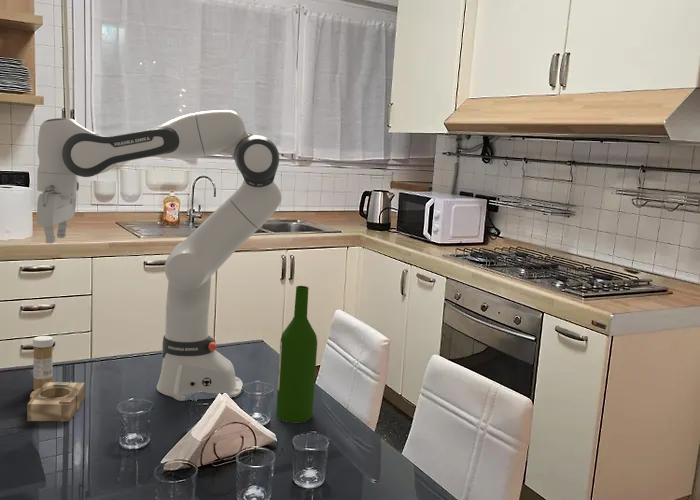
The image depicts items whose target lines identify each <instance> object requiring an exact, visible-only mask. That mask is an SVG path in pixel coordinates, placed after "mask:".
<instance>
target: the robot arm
mask: <svg viewBox="0 0 700 500" xmlns="http://www.w3.org/2000/svg"><path fill="white" fill-rule="evenodd" d="M244 123H245V122H244V121H243V119H242V117H241V116H240V115H239V114H238V113H237V112H236V111H234V110H230V109H216V110H215V109H214V110H205V111H198V112H192V113H188V114H183V115H181V116H178V117H175V118H172V119H170V120H166V121H165V122H163V123H160V124H158V125H156V126H153V127H151V128H148V129H144V130H141V131H135V132H128V133H123V134H117V135H111V136H110V135H109V136H105V135H101V134H99V133H96V132H93V131H91V130H89V129H87V128H86V127H84V126H83V125H81V124H80V123H78V122H77V121H76V120H75V119H74V118H73V119H72V118H71V117H69V118H68V117H64V118H62V117H59V118H50V119H47V120H45V121H43V122H42V123H41V125H40V126H39V130H38V131H39V132H38V137H37V156H38V160H39V161H38V162H39V163H38V167H37V170H36V171H37V173H36V174H37V177H36V182H37V183H36V190H37V192H42V193H40V194H39V195H38V197H37V205H36V224H37V226H38V227H39V226H40V227H43V231H44V235H45V243H46V244H54V243H56V237H57V238H58V239H64V238H66V236H67V228H68V224H69V220H71V219H73V218H74V216H75V213H76V207H77V205H76V204H77V192H78V191H79V189H80V183H79V181H78V179H77V177H81V178H91V177H94V176H96V175H98V174H99V175H100V174H104V173H106V172H109V171H110V170H112V169H113V168H114V167H115V165H116V164H119V163H124V162H130V161H135V160H140V159H146V158H155V157H156V158H160V157H161V158H168V159H197V158H204V157H209V156H214V155H219V154H220V155H221V154H225V155H228V156H230V157H232V159H233V160H234V163H235V166H236V168H237V169H238V171H239V172H240V174H241V176H242V177H243V182H242V183H241V185H240V187H239V188H238V189H237V190H236V191H235V192H234V193H232V195H230V197H228V198H227V199H226V200H225V201H224V202H223V203H222V204H220V206H218V207H217V209H216V210H214V211H213V212H212V213H211V214H210V215H209V216H208V217H206V219H205V220H203V222H202V223H201V224H200V225H199V226H198V227H197V228H196V229H195V230H194V231H193V232H192V233H190V235H188V237H187V238H186V239H184V240H183V241H181V242H179V243H178V244H177V245H175V246H174V247H173V249H172V251H170V253H169V255H168V256H167V258H166V260H165V263H164V274H165V276H166V279H167V282H168V283H167V293H166V304H165V318H164V319H165V322H164V335H163V337H162V344H161V354H162V364H161V371H160V375H159V379H158V383H157V385H156V390H157V392H158V393H161V394H163V395H165V396H168V397H171V398H173V399H174V400H175V401H176V400H177V401H181V402H182V401H185V398H186V396H187V395H188V394H191V393H195V392H198V391H204V392H207V393H216V394H219V393H227V394H228V395H229V396H230V397H231V398H230V399H232V397H235V396H237V395H239V394H240V393H241V389H242V386H243V387H244V383H243V380H241V378H239V377H237V376H236V372H235V367H234V365H233V363H232V362H231V360H229V359H228V358H226V357H225V356H224V355H222V354H221V353H220V352H219V351H217V350H216V349H217V343H216V339H215V337H214V336H210V335H209V316H210V302H211V301H210V300H211V299H210V298H211V283H212V282H211V280H212V276H213V275H214V274H215V273H216V272H217V271H218V270H219V269H220V268H221V267H222V266H223V265H224V264H225V262H226V261H227V260H228V259H229V258H231V256H232V255H233V254H234V253H235V252H236V251H237V250H238V249H239V248H240V247H241V246H242V245H243V244H244V243H245V242H246V241H248V240H249V238H251V237H252V236H253V235H254V234H255V233H256V232H258V230H259V229H260V228H261V227H263V225H264V224H265V223H266V222H267V221H268V220H269V218H271V217H272V216H273V214H274V213H275V212H276V211H277V209H278V207H279V206H280V205H281V203H282V192H281V191H280V189H279V187H278V185H277V184H276V183H275V182H274V180H275V178H276V177H275V176H276V173H277V170H278V167H279V163H280V153H279V150H278V147H277V145H276V144H275V143H274V142H273V141H272V140H271V139H269V138H268V137H265V136H263V135H257V134H255V135H254V134H252V133H249V132H248V131H247V130H246V126H245V124H244ZM56 226H57V231H56V235H55V228H56ZM241 394H242V393H241ZM241 394H240V395H241ZM240 395H239V396H240ZM237 397H238V396H237ZM235 398H236V397H235Z"/></svg>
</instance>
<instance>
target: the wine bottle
mask: <svg viewBox="0 0 700 500" xmlns="http://www.w3.org/2000/svg"><path fill="white" fill-rule="evenodd" d="M309 289H310V288H309V286H306V285H297V286H296V287H295V297H294V298H295V301H294V313H293V317H292V320H290V322H289V323H288V325H287V326H286V328H285V329H284V330H283V332H282V333H281V337H280V343H279V356H278V357H279V358H278V359H279V360H278V375H277V377H278V378H277V390H276V391H277V395H276V409H275V411H276V413H275V415H276V418H277V417H278V418H280V419H281V420H284V421H287V422H303V423H305V422H304V421H307V420H309V419H310V418H311V419H312V418H313V411H314V410H313V409H314V400H315V399H314V395H315V382H316V381H315V380H316V367H317V355H318V352H317V351H318V338H317V337H318V336H317V334H316V332H315V329H313V327H312V324H311V323H310V320H308V304H309V302H308V301H309ZM278 418H277V419H278ZM280 419H279V420H280ZM311 419H310V420H311ZM281 420H280V421H281ZM310 420H309V421H310ZM284 421H283V422H284ZM287 422H286V423H287ZM307 422H308V421H307Z"/></svg>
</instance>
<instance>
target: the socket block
mask: <svg viewBox="0 0 700 500" xmlns="http://www.w3.org/2000/svg"><path fill="white" fill-rule="evenodd" d="M85 385H86V384H85V382H69V381H56V382H55V381H52V382H46V383H45V384H44V385H43V386H42V387H41V388H39V389H36V390H33V391H32V392H31V393H30V395H29V401H28V403H27V404H26V405H27V406H26V407H27V408H26V409H27V410H26V411H27V413H26V415H27V417H26V418H27V422H70V421H71V419H72V418H73V416H74V415H75V414H76V413H77V411H78V410H79V409H80V406H81V404H82V403H83V402H84V400H85V395H86V394H85V393H86V392H85V391H86V390H85V389H86V388H85V387H86V386H85Z"/></svg>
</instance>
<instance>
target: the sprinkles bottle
mask: <svg viewBox="0 0 700 500" xmlns="http://www.w3.org/2000/svg"><path fill="white" fill-rule="evenodd" d="M53 345H54V339H53V337H52V336H51V335H39V336H35V337H34V338H33V339H32V346H33V367H32V368H33V373H32V374H33V387H32V388H33V391H35V390H36V389H39V388H41V387H42V386H43V385H44V384H45V383H46V382H53Z"/></svg>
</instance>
